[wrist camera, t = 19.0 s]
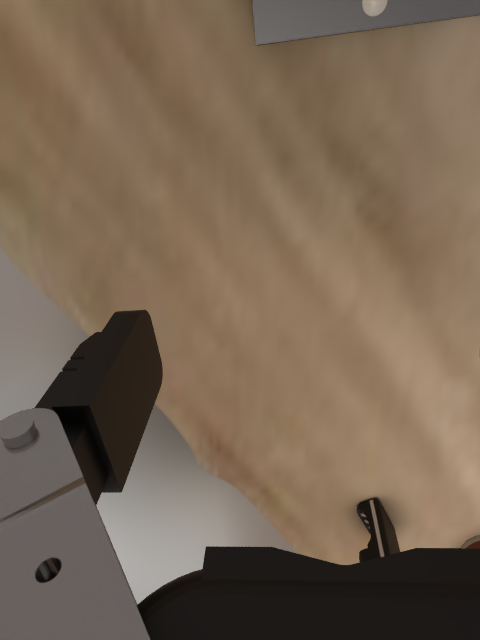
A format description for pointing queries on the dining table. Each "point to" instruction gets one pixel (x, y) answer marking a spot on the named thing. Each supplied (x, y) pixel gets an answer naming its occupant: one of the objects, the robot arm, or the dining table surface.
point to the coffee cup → (472, 543)
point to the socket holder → (347, 16)
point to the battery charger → (377, 531)
